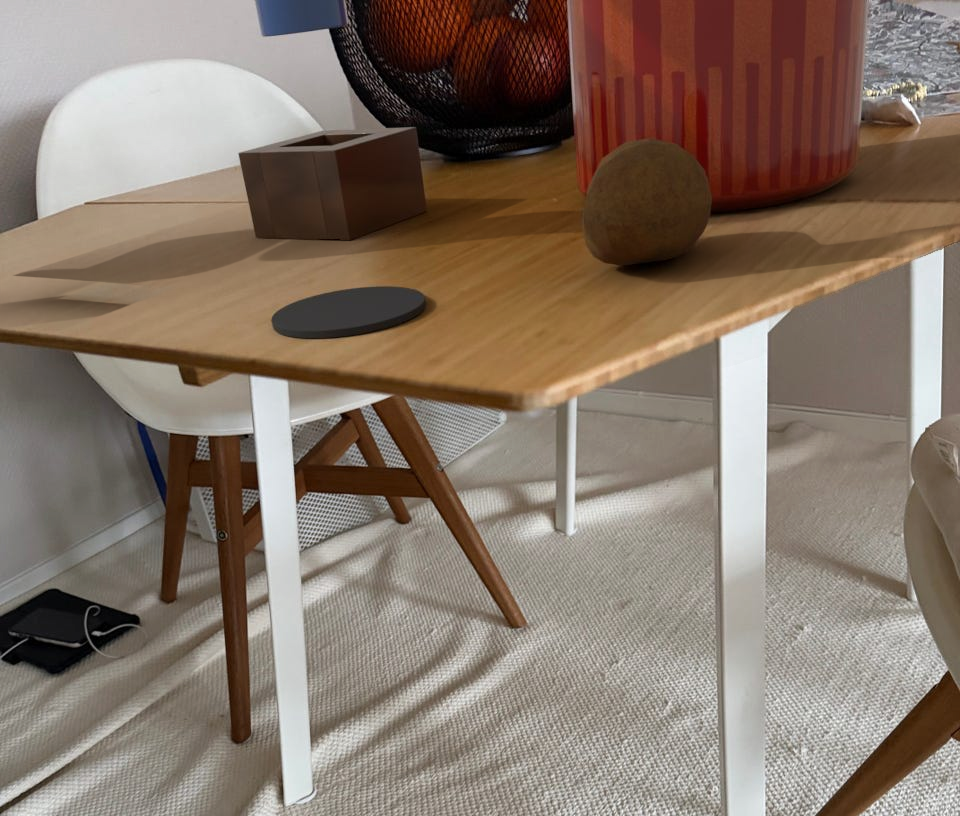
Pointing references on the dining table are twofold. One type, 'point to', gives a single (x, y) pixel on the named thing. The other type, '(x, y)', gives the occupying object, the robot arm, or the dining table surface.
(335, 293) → the coaster
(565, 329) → the dining table surface
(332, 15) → the bottle
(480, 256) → the dining table surface
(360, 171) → the holder
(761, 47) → the planter
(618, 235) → the potato
